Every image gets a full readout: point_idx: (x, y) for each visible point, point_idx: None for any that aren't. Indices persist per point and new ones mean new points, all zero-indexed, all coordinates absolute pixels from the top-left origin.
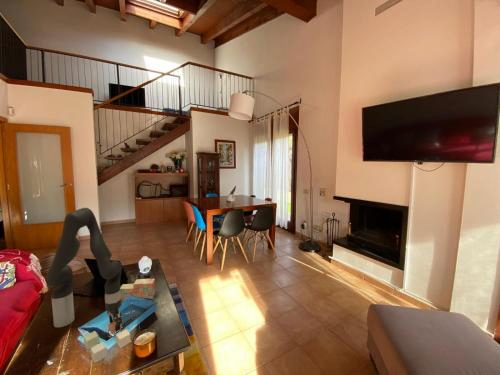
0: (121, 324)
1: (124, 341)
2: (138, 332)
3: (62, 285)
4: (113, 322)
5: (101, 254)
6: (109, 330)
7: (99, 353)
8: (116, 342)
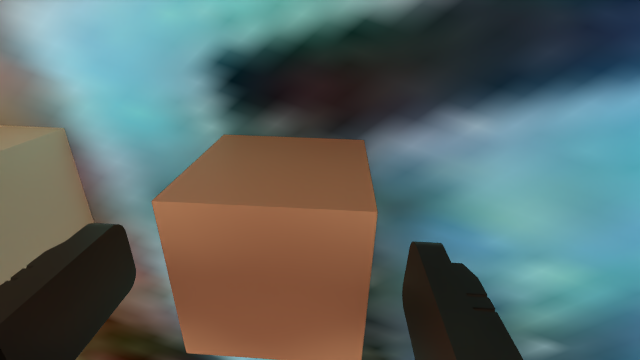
0: (190, 339)
1: None
2: (106, 330)
3: None
4: (346, 297)
5: None
6: (308, 162)
7: None
8: (47, 132)
